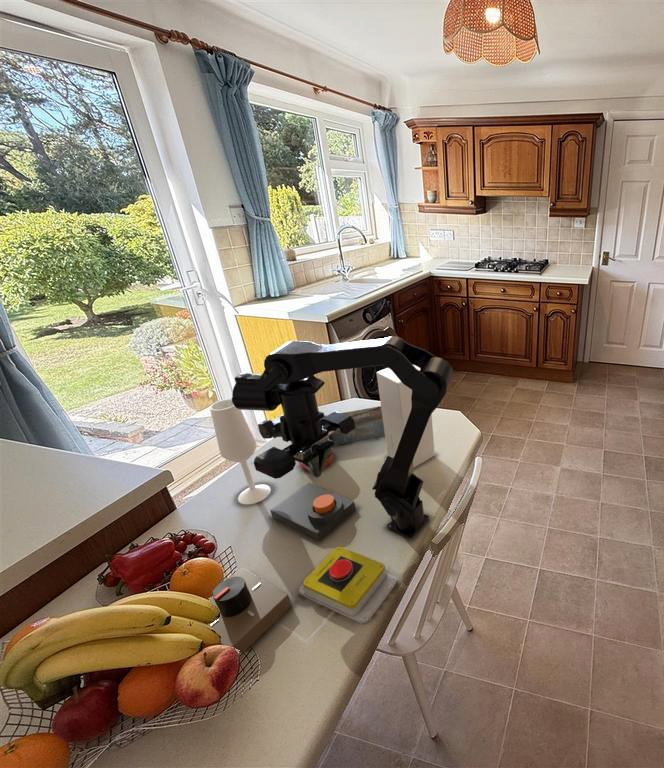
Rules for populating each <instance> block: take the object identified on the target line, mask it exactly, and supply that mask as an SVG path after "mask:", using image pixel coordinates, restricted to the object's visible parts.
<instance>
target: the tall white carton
mask: <svg viewBox="0 0 664 768" xmlns="http://www.w3.org/2000/svg"><path fill="white" fill-rule="evenodd" d="M413 366H414V367H415V368H416V369H418V370H420V369H421V368H419V367H418V366H416V365H413ZM376 379H377V387H378V394H379V401H380V406H381V410H382V417H383V424H384V432H385V436H384V439H385V444H386V452H387V453H386V454H387V456H390V457H392V458H394V456H395V453H396V450H397V448H398V445H399V442H400V439H401V436H402V434H403V431H404V428H405V425H406V423H407V420H408V417H409V414H410V411H411V408H412V404H411V395H412V389H410V388H409V387H407V386H405V385H404V384H403V383H402V382H401V381H400V380H399V378H398V377H397V376H396V375H395V374H394V373H393V371H392V370H391V369H389V368H387V367H386V368H384V369H381V370H379V371H376ZM432 414H433V413H432ZM432 414H431V415H430V418H429V420H428V423H427V425H426V428H425V431H424V433H423V436H422V438H421V441H420V443H419V446H418V449H417V451H416V454H415V456H414V459H413V469H415V468H416V467H418V466H419V465H421V464H423V463H424V462H426V461H428V460H430V459H431V458H433V457H435V456H436V454H435V441H434V439H435V438H434V428H433V415H432Z"/></svg>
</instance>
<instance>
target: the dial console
mask: <svg viewBox="0 0 664 768" xmlns="http://www.w3.org/2000/svg"><path fill="white" fill-rule="evenodd" d="M235 576H239V577H242V578H243V579H244V580H245V582H246V585H247V587H248V590H249V592H250V594H251V602H250V604H249V606H248V607H247V608H246V609H245V610H244V611H243V612H241V613H240V614H238V615H235V616H232V617H225V616H223V615H221V613H220V617H219V618H218V619H217V620H215V621H214V622H212V623H210V624H209V625H210V626H211V627H212V628H213V629H214V630H215V631H217V632H218V633H219V635H220V636H221V642H220V644H223V645H227V646H231V647H234V648H236V649H238V650H240V651H239V652H240V653H241V655H243V654H244V653H245V652H247V650H248V649H249V648H250V647H251V646H252V645H253V644H254V643H255V642H256V641H257V640H258V639H260V637H262V635H263V634H264V633H265V632H266V631H267V630H269V628H270V627H272V625H274V623H276V621H277V620H279V619H280V618H281V617H282V616H283V615H284V613H286V612H287V611H288V610H289V609H290V608H291V607H292V602H291V600H290V597H289V594H288V593H286V592H284V591H283V590H281V589H280V588H277V587H276V586H274V585H272V584H271V583H269V582H267V581H266V580H264V579H263V578H261V577H259V576H258V575H256V574H254V573H252V572H251V571H249V570H247V569H246V568H244V567H240V568H239V569H238V570H237V571H235V572H234V573H232V574H231V575H230V576H229V577H228V578H230V577H235ZM208 599H209V600H210V601H211V602H213V604H214V605H215V606H217V605H216V603H215V600H214V598H213V596H212V597H210V598H208ZM217 608H218V607H217ZM219 612H220V611H219Z"/></svg>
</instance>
